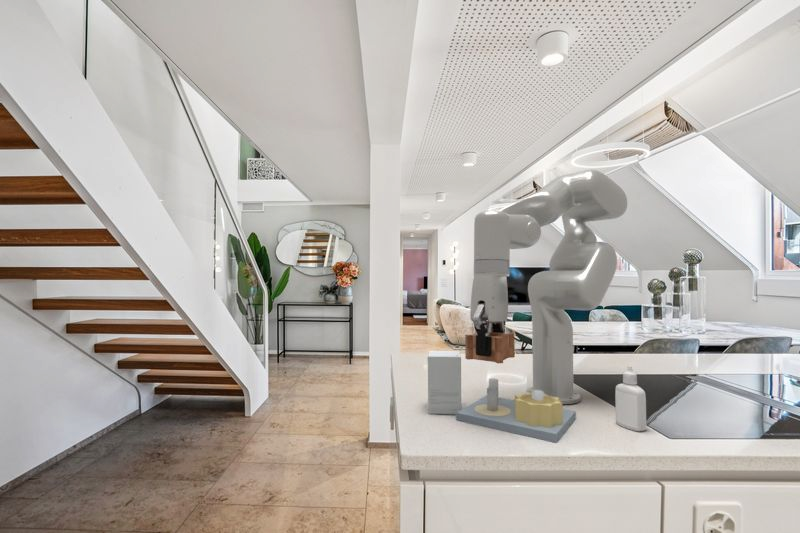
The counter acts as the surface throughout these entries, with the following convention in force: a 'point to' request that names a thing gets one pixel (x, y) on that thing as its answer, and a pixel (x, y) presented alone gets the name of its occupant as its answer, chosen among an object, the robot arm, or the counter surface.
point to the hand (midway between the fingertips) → (490, 352)
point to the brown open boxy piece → (492, 347)
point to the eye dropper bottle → (630, 403)
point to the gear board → (514, 424)
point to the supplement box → (444, 382)
